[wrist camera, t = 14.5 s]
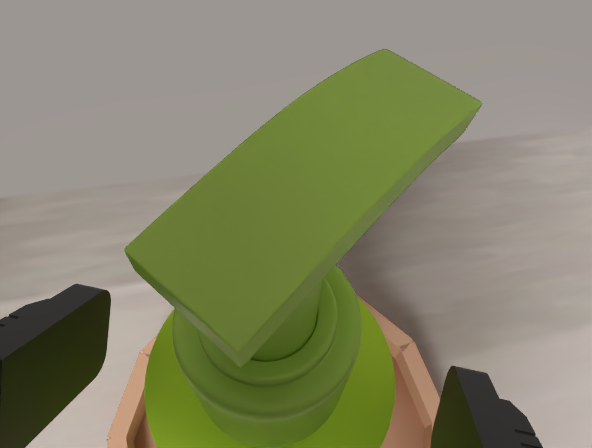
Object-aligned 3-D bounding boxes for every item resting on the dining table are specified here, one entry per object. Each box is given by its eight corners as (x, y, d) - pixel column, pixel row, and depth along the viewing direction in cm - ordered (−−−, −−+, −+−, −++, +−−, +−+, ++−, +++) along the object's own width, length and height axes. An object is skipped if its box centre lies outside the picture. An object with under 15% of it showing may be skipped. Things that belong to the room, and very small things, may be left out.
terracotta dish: (422, 680, 19) (436, 693, 18) (68, 581, 21) (49, 585, 19) (445, 325, 27) (456, 311, 25) (184, 270, 28) (178, 253, 27)
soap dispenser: (379, 427, 24) (631, 149, 7) (280, 561, 21) (277, 672, 4) (285, 346, 26) (295, -32, 9) (183, 458, 23) (-105, 227, 6)
